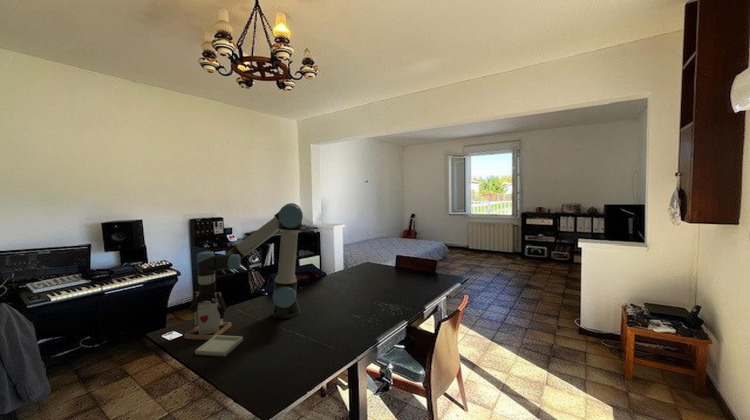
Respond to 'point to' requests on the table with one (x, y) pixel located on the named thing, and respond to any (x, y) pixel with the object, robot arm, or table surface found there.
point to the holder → (206, 337)
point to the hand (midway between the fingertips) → (209, 324)
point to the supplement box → (208, 318)
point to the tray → (219, 345)
